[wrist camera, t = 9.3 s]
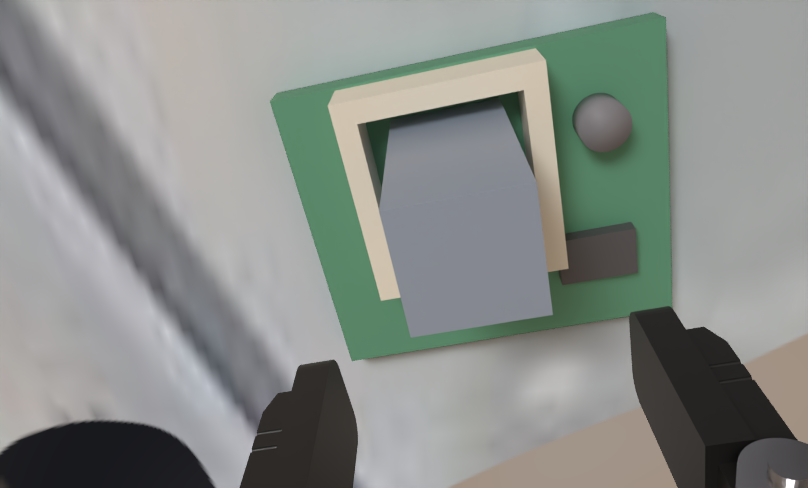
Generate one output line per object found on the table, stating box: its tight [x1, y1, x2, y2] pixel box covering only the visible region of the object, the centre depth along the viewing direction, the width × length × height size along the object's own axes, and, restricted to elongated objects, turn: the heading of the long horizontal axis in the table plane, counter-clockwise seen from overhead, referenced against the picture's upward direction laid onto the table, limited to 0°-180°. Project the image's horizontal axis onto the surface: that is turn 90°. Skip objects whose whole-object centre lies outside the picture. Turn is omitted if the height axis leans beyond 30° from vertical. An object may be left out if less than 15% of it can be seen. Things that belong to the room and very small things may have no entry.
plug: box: [379, 98, 553, 338], centre depth 20 cm, size 4×5×8 cm
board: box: [270, 13, 672, 361], centre depth 24 cm, size 14×12×3 cm
